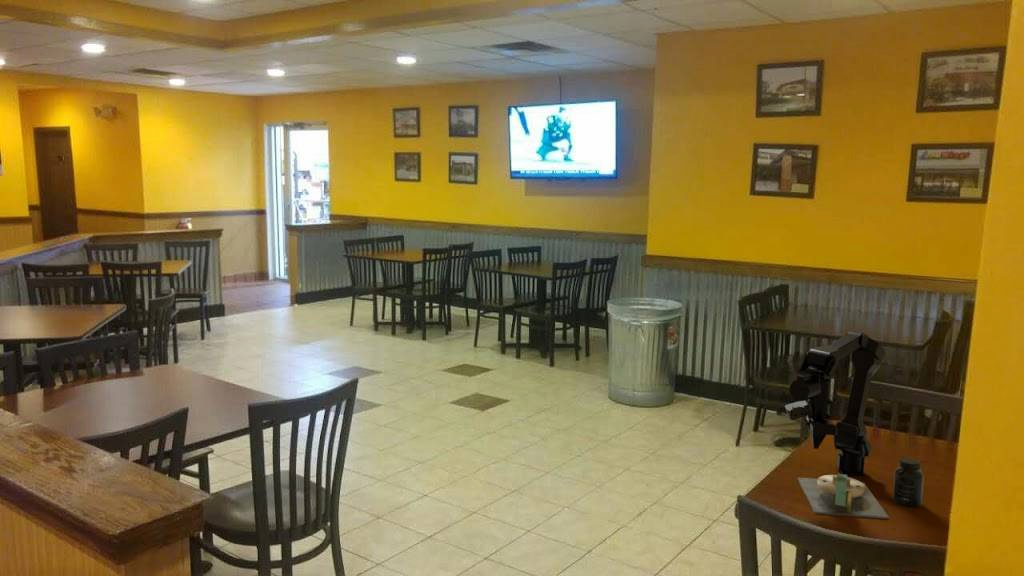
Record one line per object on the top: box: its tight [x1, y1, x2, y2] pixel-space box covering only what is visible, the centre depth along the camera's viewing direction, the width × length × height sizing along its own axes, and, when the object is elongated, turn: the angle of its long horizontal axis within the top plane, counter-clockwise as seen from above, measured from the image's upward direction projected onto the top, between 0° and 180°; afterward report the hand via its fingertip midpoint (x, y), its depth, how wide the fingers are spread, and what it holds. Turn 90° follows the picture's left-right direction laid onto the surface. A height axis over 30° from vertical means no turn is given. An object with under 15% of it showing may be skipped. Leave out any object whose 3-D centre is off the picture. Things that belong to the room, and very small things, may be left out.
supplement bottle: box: [892, 457, 925, 509], centre depth 196 cm, size 7×7×12 cm
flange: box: [817, 473, 866, 506], centre depth 196 cm, size 18×12×6 cm
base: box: [796, 477, 890, 520], centre depth 199 cm, size 18×22×6 cm
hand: (815, 448), depth 204 cm, fingers closed
